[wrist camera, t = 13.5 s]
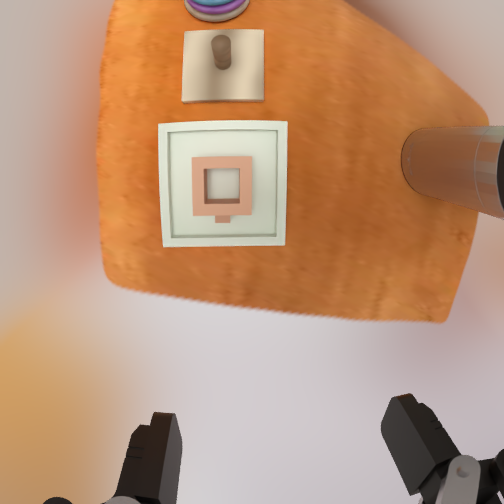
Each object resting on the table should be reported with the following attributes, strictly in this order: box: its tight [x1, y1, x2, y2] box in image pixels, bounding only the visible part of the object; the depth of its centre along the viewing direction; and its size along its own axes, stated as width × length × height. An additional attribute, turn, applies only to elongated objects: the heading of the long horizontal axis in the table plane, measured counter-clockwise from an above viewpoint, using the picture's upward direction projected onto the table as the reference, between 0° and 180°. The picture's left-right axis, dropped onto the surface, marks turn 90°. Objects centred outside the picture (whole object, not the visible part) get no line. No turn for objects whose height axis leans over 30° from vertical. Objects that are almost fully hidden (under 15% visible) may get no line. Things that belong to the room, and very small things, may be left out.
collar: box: [192, 156, 252, 223], centre depth 32 cm, size 6×7×4 cm
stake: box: [182, 29, 264, 104], centre depth 26 cm, size 9×9×8 cm
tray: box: [158, 120, 287, 247], centre depth 33 cm, size 14×14×2 cm
